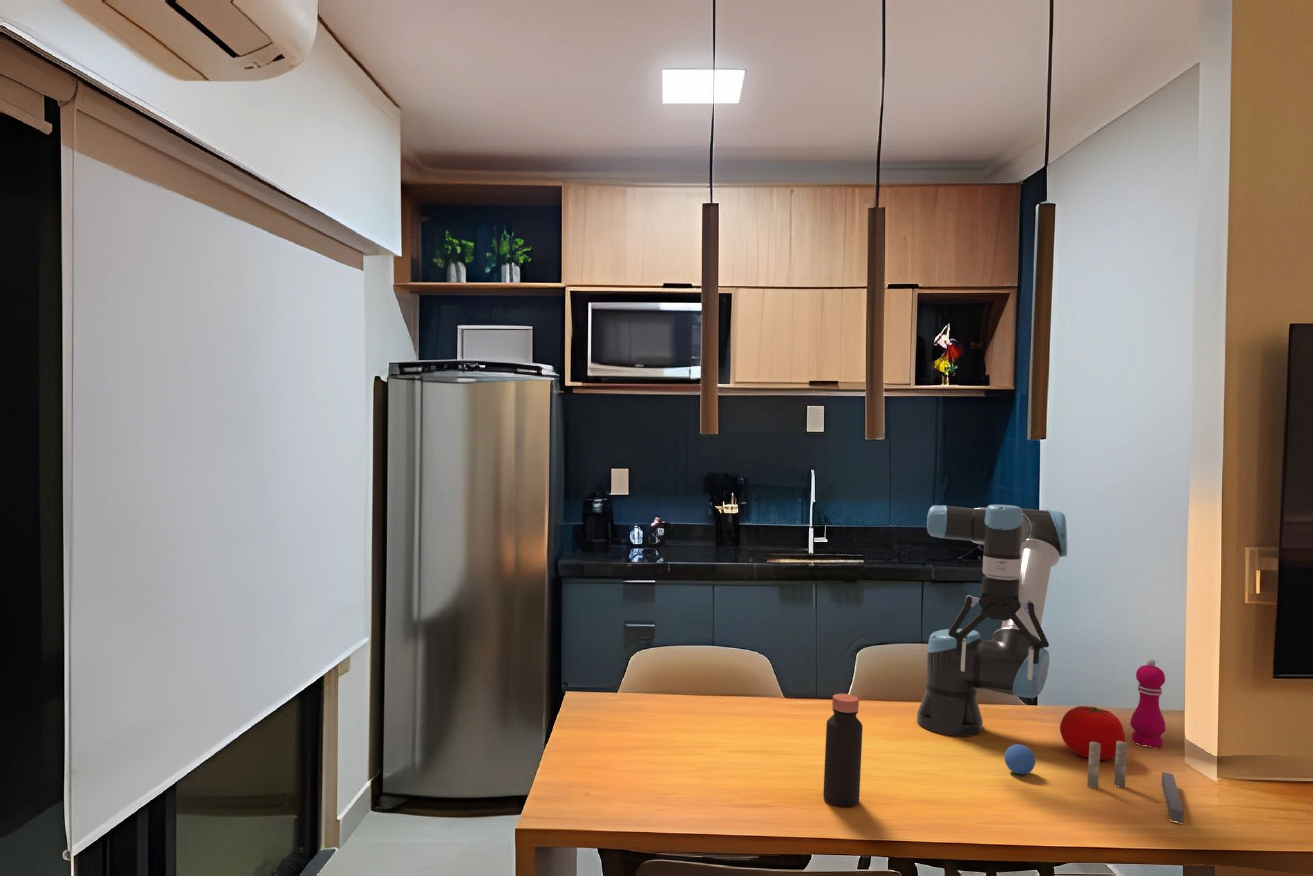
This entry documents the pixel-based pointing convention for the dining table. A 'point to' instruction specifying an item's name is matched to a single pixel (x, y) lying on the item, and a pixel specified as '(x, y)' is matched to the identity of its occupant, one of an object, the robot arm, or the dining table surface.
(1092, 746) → the pin
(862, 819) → the dining table surface
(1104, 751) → the tomato
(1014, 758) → the ball
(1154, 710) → the pepper mill
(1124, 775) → the pin
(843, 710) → the bottle
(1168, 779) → the grey square rod
